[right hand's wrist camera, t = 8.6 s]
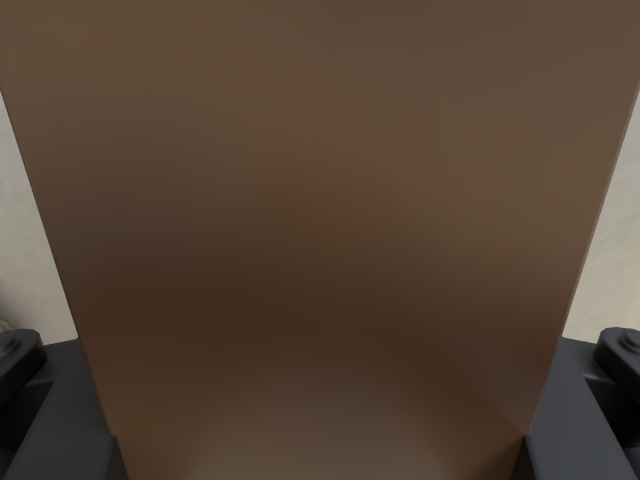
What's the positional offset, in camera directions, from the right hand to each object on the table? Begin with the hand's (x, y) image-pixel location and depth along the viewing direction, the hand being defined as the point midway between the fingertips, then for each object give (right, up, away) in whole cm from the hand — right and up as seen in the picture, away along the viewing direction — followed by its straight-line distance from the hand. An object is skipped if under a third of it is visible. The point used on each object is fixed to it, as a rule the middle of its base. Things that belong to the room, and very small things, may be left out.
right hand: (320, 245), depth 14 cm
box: (0, +8, -2) cm, 8 cm away
